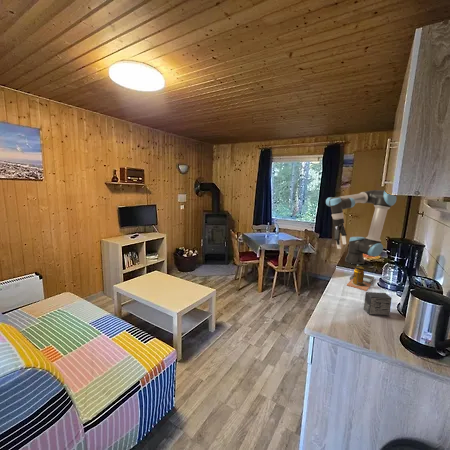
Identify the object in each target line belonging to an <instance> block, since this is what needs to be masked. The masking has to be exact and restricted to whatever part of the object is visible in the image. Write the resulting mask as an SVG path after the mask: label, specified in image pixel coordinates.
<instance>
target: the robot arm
mask: <svg viewBox="0 0 450 450" xmlns="http://www.w3.org/2000/svg"><path fill="white" fill-rule="evenodd" d="M385 190H386V189H373V190H366V191H361V192H359V193H355V194H348V195H342V196H335V197H332V196H330V197H327V198H326V199H325V204H326V206H327V207H330V210H331V217H332V224H333V225H335V226H334V241H335V243H336V249H337V250H341V249H342V245H347V232H346V229H345V225H344V224H345V217H344V212H343V211H344V210H347V209H351V208H354V207H355V205H356V204H360V203H361V204H373V207H374V212H373V216H372V219H371V222H370V227H369V230H368V234H367V236H366V237H364V236H350V237H349V241H348V249H347V253H346V256H345V257H344V259H345V260H344V262H346V263H347V262H348V264H350V263H352V264H351V265H355V264H363V265H365V259H364V255H367V256H369V257H378V256H379V255H381V254H382V253H383V251H384V245H383V244H382V240H381V237H382V232H383V228H384V225H385V221H386V218H387V214H388V210H390V209H391V208H392V206H394V205H395V204H396V202H397V200H398V199H397V195H396V196H394V195H390V194H387V193H386V192H385ZM341 242H342V244H341Z"/></svg>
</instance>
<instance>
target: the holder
mask: <svg viewBox="0 0 450 450" xmlns="http://www.w3.org/2000/svg"><path fill="white" fill-rule="evenodd" d="M353 276H354V273H353V274H352V275H351V276H349V281H351V280H352V279H353ZM365 279H368V280H369V281H368V280H365ZM374 280H375V277H374V276H371V275H368V274H364V278H363V282H364V283H368V284H371V285H372V283H374Z"/></svg>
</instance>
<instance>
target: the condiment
mask: <svg viewBox="0 0 450 450" xmlns="http://www.w3.org/2000/svg"><path fill="white" fill-rule="evenodd" d="M353 274H354V276H353V282H351V280H349V282H351V283H353V284H354V285H355V286H367V285H366V284H365V283H363V280H364V279H365V278H364V275H365V267H363V266H361V265H356V266H355V267H354V270H353Z"/></svg>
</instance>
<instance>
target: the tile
mask: <svg viewBox="0 0 450 450" xmlns="http://www.w3.org/2000/svg"><path fill="white" fill-rule="evenodd" d="M350 281H351V282H353V279H352V280H350ZM350 281H348V283H346V286H347V287H350V288H353V289H356V290H361V291H365V292H368V290H369V289H370V288H371V286H372V283H371V284H368V283H365V284H366V285H367V286H355V285H354V284H353V283H351V282H350ZM363 283H364V282H363Z"/></svg>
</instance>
